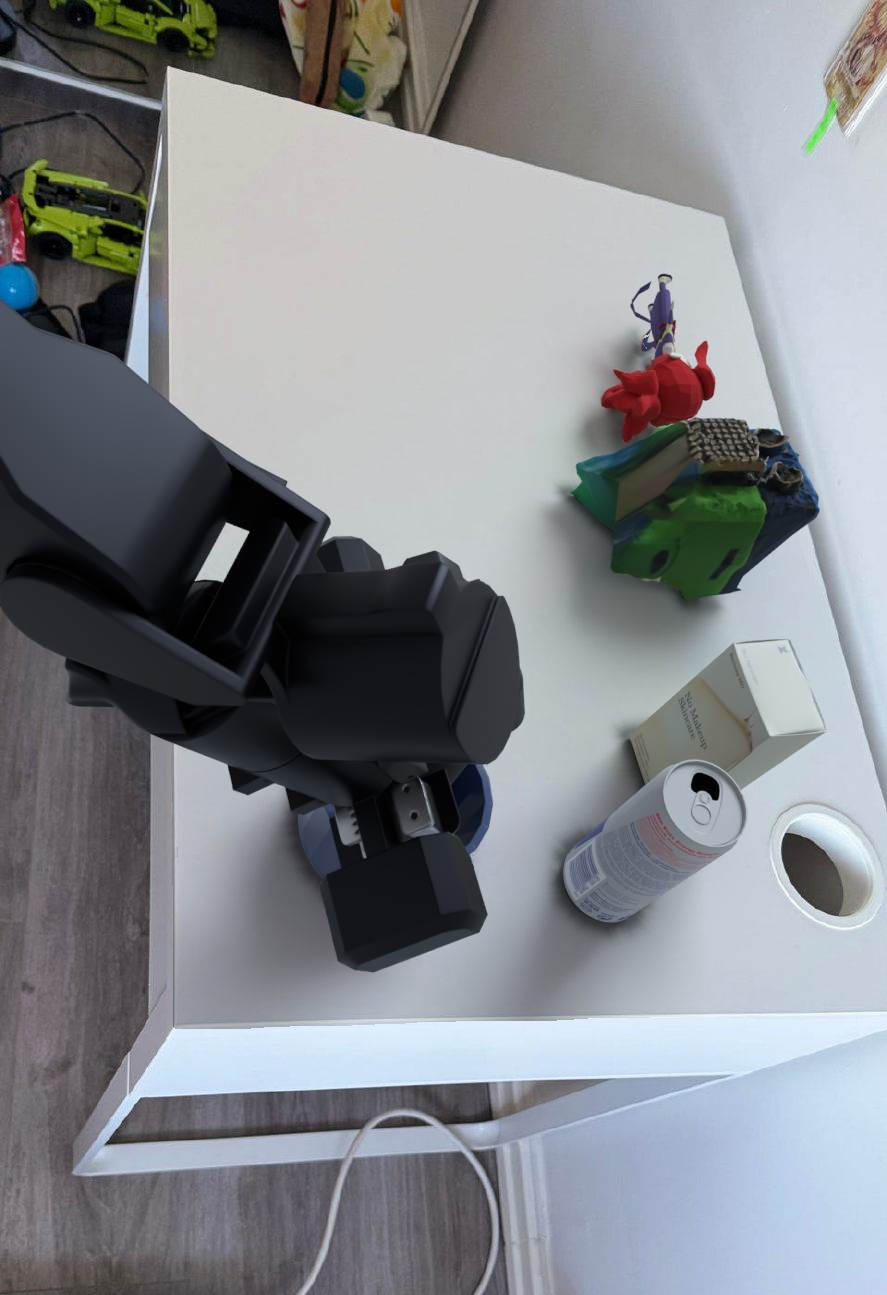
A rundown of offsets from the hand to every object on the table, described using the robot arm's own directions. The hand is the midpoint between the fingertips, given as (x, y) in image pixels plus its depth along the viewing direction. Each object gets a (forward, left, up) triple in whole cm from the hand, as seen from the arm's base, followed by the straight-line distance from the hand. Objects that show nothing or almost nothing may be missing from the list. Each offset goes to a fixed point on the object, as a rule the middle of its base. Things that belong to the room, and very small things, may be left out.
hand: (439, 786), depth 55 cm
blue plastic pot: (-1, +1, -9) cm, 9 cm away
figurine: (+11, +45, -9) cm, 48 cm away
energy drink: (+13, +2, -9) cm, 16 cm away
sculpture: (+14, +30, -9) cm, 35 cm away
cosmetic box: (+17, +11, -9) cm, 23 cm away
